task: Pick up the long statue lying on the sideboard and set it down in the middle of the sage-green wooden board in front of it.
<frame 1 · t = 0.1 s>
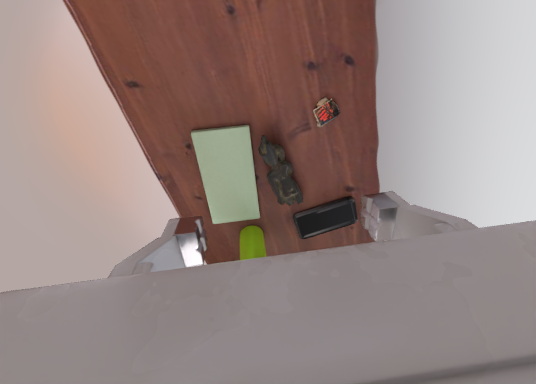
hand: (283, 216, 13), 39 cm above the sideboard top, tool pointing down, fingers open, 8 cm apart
phone: (324, 216, 63), on the sideboard top
soap dispenser: (250, 235, 64), on the sideboard top
board: (229, 177, 55), on the sideboard top
matchbox: (324, 111, 50), on the sideboard top
statue: (277, 167, 55), on the sideboard top
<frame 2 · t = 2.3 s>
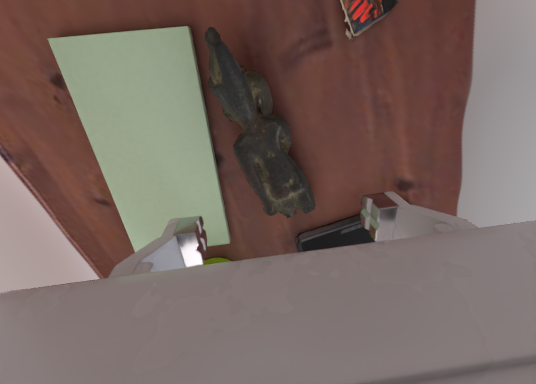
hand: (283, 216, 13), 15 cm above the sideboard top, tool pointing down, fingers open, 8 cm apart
phone: (354, 239, 34), on the sideboard top
board: (160, 158, 26), on the sideboard top
statue: (259, 137, 27), on the sideboard top
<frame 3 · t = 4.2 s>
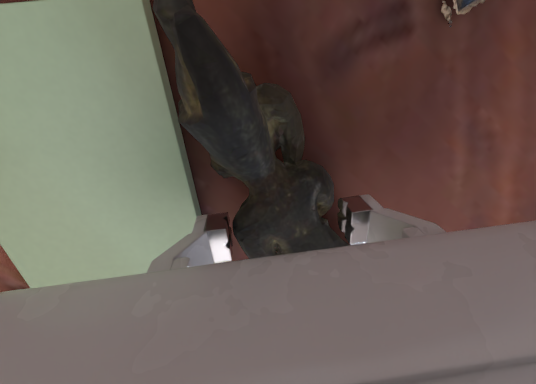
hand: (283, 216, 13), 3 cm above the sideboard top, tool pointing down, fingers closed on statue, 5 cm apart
board: (112, 225, 16), on the sideboard top
statue: (275, 190, 16), on the sideboard top, touching gripper
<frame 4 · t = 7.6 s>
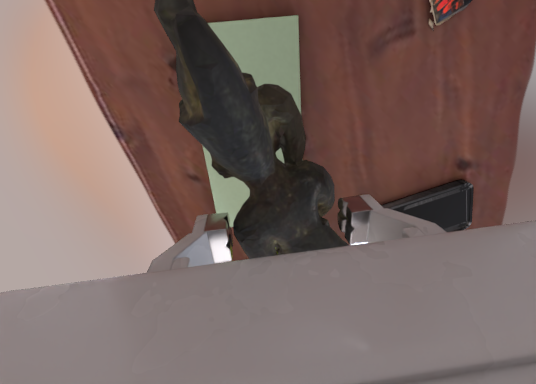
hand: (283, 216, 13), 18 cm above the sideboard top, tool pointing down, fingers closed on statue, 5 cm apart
phone: (413, 217, 36), on the sideboard top
board: (252, 136, 29), on the sideboard top
statue: (276, 190, 16), point 15 cm above the sideboard top, touching gripper
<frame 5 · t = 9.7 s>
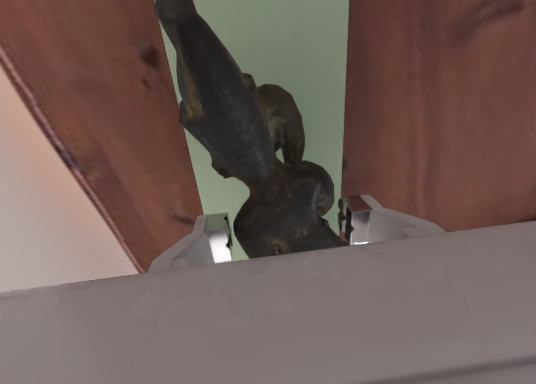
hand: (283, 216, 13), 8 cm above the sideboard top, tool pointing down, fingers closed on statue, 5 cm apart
board: (268, 163, 20), on the sideboard top
statue: (276, 190, 16), point 5 cm above the sideboard top, touching gripper
when the fingers open (4 cm above the sideboard top, at t = 11.2 s): statue stays where it is, resting on board.
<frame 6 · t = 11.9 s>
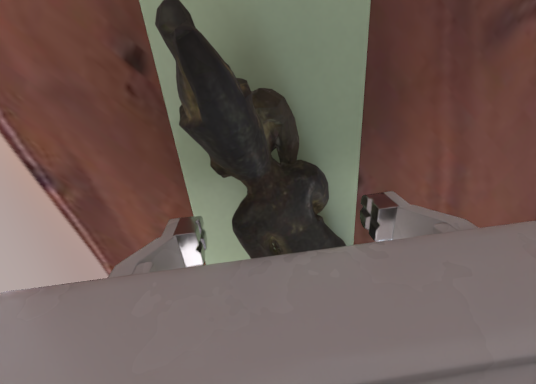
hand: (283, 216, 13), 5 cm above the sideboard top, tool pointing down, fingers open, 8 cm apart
board: (272, 180, 17), on the sideboard top
statue: (273, 189, 17), point 1 cm above the sideboard top, touching board
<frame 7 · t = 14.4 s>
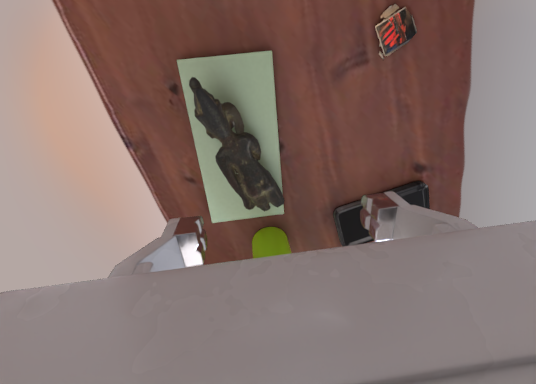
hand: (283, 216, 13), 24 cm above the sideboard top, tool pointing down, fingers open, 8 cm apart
phone: (379, 213, 42), on the sideboard top
soap dispenser: (267, 242, 43), on the sideboard top
board: (238, 145, 35), on the sideboard top
matchbox: (392, 29, 31), on the sideboard top
statue: (237, 149, 34), point 1 cm above the sideboard top, touching board
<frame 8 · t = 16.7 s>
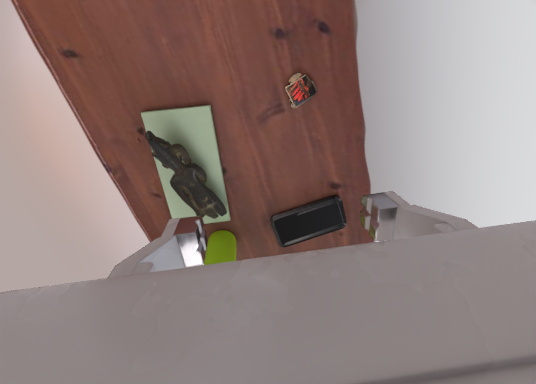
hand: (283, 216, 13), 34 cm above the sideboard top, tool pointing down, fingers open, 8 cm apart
phone: (308, 220, 54), on the sideboard top
soap dispenser: (220, 242, 55), on the sideboard top
board: (191, 170, 47), on the sideboard top
matchbox: (299, 89, 43), on the sideboard top
statue: (190, 173, 46), point 1 cm above the sideboard top, touching board
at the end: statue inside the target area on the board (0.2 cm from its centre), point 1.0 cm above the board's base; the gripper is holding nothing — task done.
